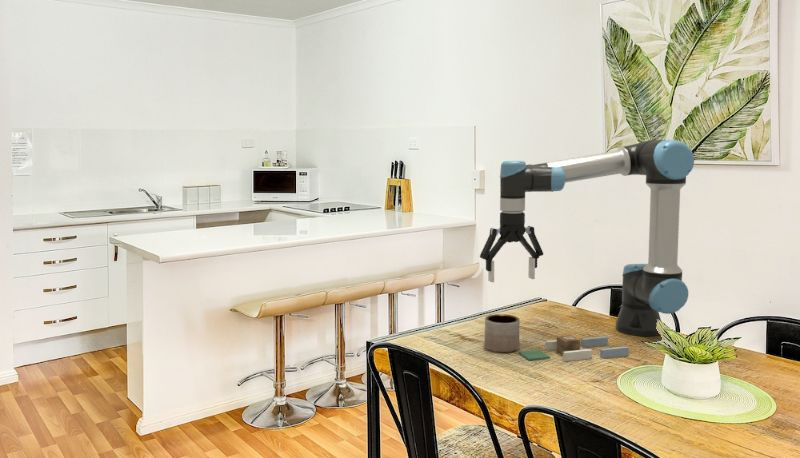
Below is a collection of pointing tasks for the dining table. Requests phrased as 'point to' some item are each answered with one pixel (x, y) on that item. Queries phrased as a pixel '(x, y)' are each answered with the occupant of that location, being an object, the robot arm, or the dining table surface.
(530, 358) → the pad
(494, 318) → the planter
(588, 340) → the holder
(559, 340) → the letter cube
